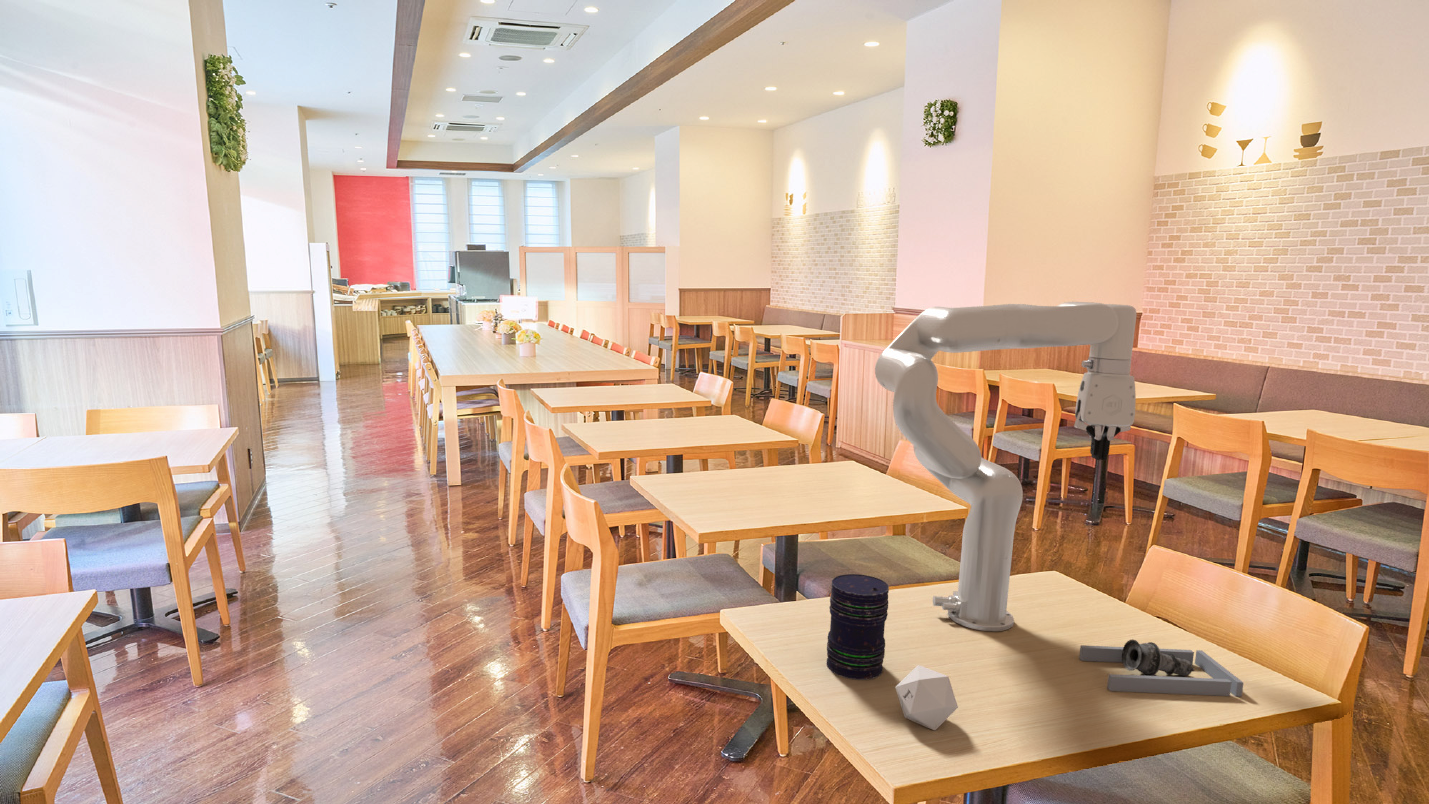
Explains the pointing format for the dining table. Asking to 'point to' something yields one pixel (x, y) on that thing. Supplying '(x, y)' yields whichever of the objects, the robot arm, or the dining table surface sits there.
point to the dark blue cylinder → (857, 626)
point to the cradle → (1173, 685)
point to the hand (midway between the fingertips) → (1098, 458)
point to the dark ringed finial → (1152, 660)
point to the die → (926, 697)
